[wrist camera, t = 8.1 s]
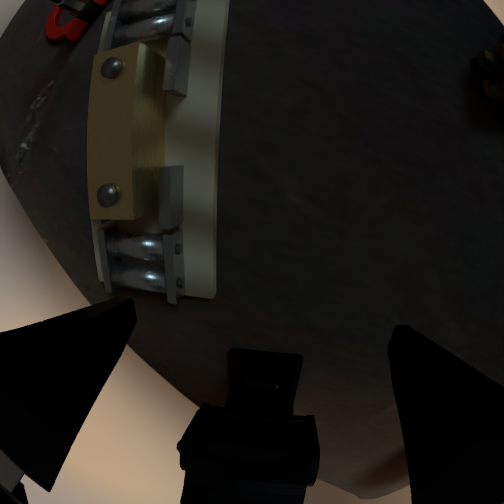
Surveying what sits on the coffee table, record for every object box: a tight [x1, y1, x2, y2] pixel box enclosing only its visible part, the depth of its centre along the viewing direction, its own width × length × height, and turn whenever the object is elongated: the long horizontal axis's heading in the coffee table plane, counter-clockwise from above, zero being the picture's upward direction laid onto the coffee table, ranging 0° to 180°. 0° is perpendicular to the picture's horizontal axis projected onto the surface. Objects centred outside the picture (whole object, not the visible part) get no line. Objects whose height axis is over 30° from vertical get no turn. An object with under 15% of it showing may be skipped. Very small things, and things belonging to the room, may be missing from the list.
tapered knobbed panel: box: [87, 41, 167, 220], centre depth 15 cm, size 11×4×5 cm, turn 178°
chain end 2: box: [93, 165, 186, 304], centre depth 19 cm, size 10×7×2 cm
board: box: [91, 0, 230, 299], centre depth 18 cm, size 25×11×1 cm, turn 177°
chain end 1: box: [103, 0, 197, 97], centre depth 14 cm, size 10×7×2 cm
